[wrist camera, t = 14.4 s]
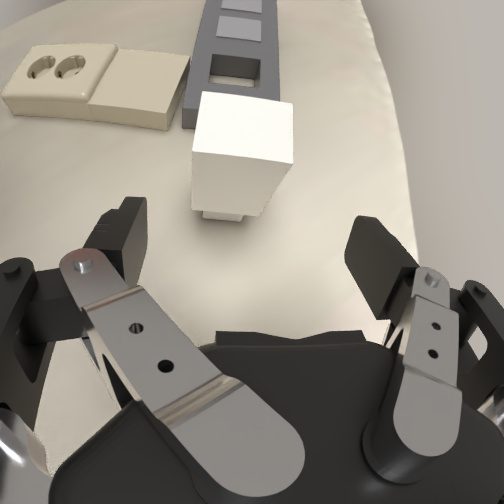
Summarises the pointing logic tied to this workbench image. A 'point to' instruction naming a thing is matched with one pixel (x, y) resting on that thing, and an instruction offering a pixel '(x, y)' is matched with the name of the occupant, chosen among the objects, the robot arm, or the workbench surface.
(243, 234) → the workbench surface
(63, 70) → the electrical outlet
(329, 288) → the workbench surface
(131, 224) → the robot arm
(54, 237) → the workbench surface
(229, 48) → the power strip
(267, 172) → the block
